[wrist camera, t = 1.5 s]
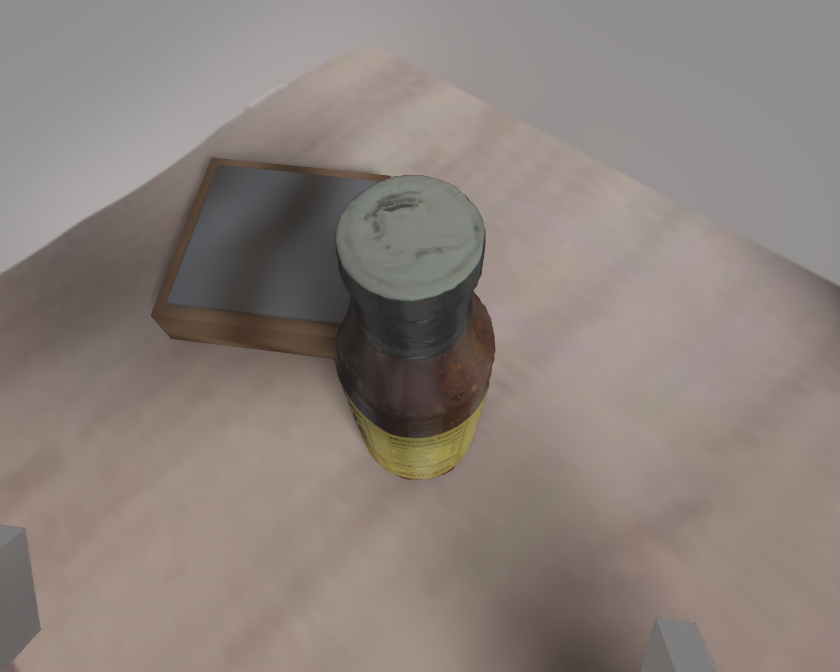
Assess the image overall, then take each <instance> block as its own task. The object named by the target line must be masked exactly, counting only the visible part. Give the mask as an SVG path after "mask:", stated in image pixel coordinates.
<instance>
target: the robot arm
mask: <svg viewBox="0 0 840 672" xmlns="http://www.w3.org/2000/svg"><path fill="white" fill-rule="evenodd" d="M40 630H41V628H40V621H39V615H38V608H37V602H36V595H35V589H34V582H33V576H32V569H31V563H30V556H29V550H28V543H27V537H26V530H25V528H23V527H16V526H9V525H2V524H0V672H3V671H4V670H5V668H7V667H8V665H9V664H10V663H11V662H12V661H13V660H14V659H15V658H16V657H17V655H18V654H19V653H20V652H21V651H22V650H23V649H24V648H25V647H26V645H27V644H28V643H29V642H30V641H31V640H32V639H33V638H34V637H35V635H36V634H37V633H38V632H39V631H40ZM641 672H717V670H716V667H715V665H714V663H713V661H712V659H711V656H710V654H709V652H708V650H707V648H706V645H705V643H704V641H703V639H702V637H701V634H700V632H699V630H698V628H697V626H696V623H691V622H684V621H677V620H670V619H663V618H656V619H655V622H654V626H653V629H652V633H651V637H650V640H649V644H648V647H647V651H646V655H645V658H644V662H643V665H642V669H641Z"/></svg>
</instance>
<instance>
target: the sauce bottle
mask: <svg viewBox="0 0 840 672" xmlns="http://www.w3.org/2000/svg"><path fill="white" fill-rule="evenodd" d="M335 250H336V255H337V260H338V269H339V272H340V275H341V278H342V281H343V283H344V285H345V287H346V290H347V291H348V293H349V294H350V295H351V296H352V297H353V302H352V304H351V306H350V308H349V310H348V312H347V314H346V316H345V317H344V319H343V321H342V323H341V325H340V327H339V329H338V333H337V336H336V341H335V350H334V355H335V364H336V369H337V373H338V377H339V379H340V382H341V385H342V388H343V390H344V392H345V394H346V397H347V399H348V402H349V405H350V407H351V410H352V412H353V416H354V418H355V420H356V422H357V424H358V427H359V429H360V432H361V435H362V437H363V440H364V442H365V444H366V446H367V448H368V450H369V452H370V454H371V455H372V456H373V458H374V459H375V460H376V461H377V462H378V463H379V464H380V465H381V466H382V467H383V468H385V469H386V470H388V471H390V472H392V473H394V474H396V475H398V476H399V477H401V478H404V479H409V480H413V479H414V480H422V479H429V478H433V477H436V476H439V475H444V474H446V473H447V472H449V471H451V470H453V469H454V467H455V465H456V464H457V463H459V462H460V461H461V459H462V458H463V457H464V456H465V454H466V453H467V451H468V450H469V448H470V446H471V443H472V441H473V439H474V435H475V431H476V428H477V425H478V422H479V418H480V415H481V411H482V408H483V405H484V401H485V398H486V394H487V391H488V388H489V380H490V376H491V372H492V364H493V362H494V354H495V341H494V338H495V336H494V332H493V326H492V322H491V318H490V316H489V314H488V312H487V309H486V307H485V306H484V305H483V304H482V303H481V301H480V299H479V297H478V296H477V295H476V294H475V293H474V292H473V291H474V289H475V287H476V286H477V284H478V281H479V278H480V276H481V274H482V266H483V259H484V252H485V227H484V224H483V220H482V217H481V215H480V213H479V211H478V209H477V208H476V206H475V205H474V204H473V203H472V202H470V200H469V199H468V198H467V196H466V195H464V194H463V193H462V192H461V191H459V190H458V189H457V188H456V187H455V186H453V185H451V184H449V183H446V182H444V181H442V180H438V179H435V178H431V177H427V176H423V175H403V176H394V177H391V178H388V179H386V180H383V181H381V182H378V183H376V184H374V185H372V186H371V187H369V188H367V189H365V190H364V191H362V192H361V193H360V194H359V195H358V196H356V197H355V198H354V199H353V200H352V201H351V202H349V204H348V205H347V207H346V209H345V210H344V212H343V213H342V214H341V215H340V217H339V220H338V223H337V226H336V232H335Z"/></svg>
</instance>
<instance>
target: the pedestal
mask: <svg viewBox="0 0 840 672" xmlns="http://www.w3.org/2000/svg"><path fill="white" fill-rule="evenodd" d="M388 178H391V176H387V175H377V174H367V173H358V172H348V171H338V170H328V169H318V168H308V167H298V166H289V165H279V164H269V163H259V162H249V161H239V160H230V159H220V158H212V159H211V161H210V164H209V167H208V169H207V172H206V174H205V177H204V179H203V182H202V185H201V187H200V190H199V192H198V195H197V198H196V200H195V203H194V205H193V208H192V210H191V213H190V216H189V218H188V221H187V223H186V226H185V228H184V231H183V234H182V236H181V239H180V241H179V244H178V247H177V249H176V252H175V254H174V257H173V259H172V262H171V265H170V267H169V270H168V272H167V275H166V277H165V280H164V283H163V285H162V288H161V290H160V293H159V296H158V298H157V301H156V303H155V306H154V308H153V311H152V314H151V316H152V318H153V319H154V320H155V321H156V322H157V323H158V324H159V325H160V327H161V328H162V329H163V330H164V331H165V332H166V333H167V334H168V336H169V337H170V338H171V339H179V340H187V341H195V342H203V343H211V344H219V345H227V346H236V347H244V348H252V349H260V350H268V351H276V352H284V353H292V354H301V355H309V356H317V357H325V358H333V359H335V355H334V350H335V341H336V336H337V333H338V329H339V327H340V325H341V323H342V321H343V319H344V317H345V316H346V314H347V312H348V310H349V308H350V306H351V304H352V302H353V297H352V296H351V295H350V294H349V293H348V291H347V290H346V287H345V285H344V283H343V281H342V278H341V275H340V272H339V269H338V260H337V255H336V250H335V232H336V226H337V223H338V220H339V217H340V215H341V214H342V213H343V212H344V210H345V209H346V207H347V205H348V204H349V202H351V201H352V200H353V199H354V198H355V197H356V196H358V195H359V194H360V193H361V192H362V191H364V190H365V189H367V188H369V187H371V186H372V185H374V184H376V183H378V182H381V181H383V180H386V179H388Z"/></svg>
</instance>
